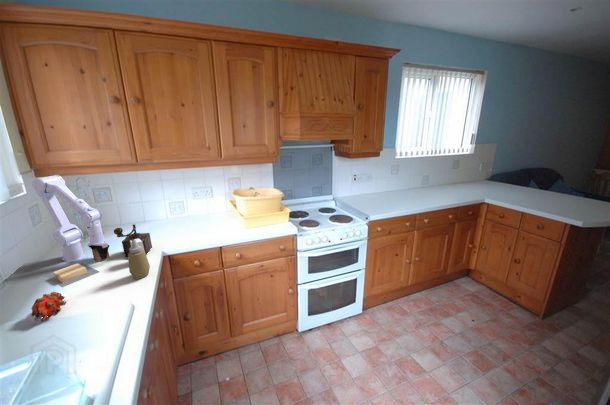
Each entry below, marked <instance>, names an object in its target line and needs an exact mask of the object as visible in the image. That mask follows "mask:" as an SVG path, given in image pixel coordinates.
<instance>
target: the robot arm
mask: <svg viewBox="0 0 610 405" xmlns="http://www.w3.org/2000/svg"><path fill="white" fill-rule="evenodd" d="M32 187H33V189H34V190H35V192H36V195H37V196H38V197H39V198H40V200H41V202H42V203H43V205H44V208H45V209H46V211H47V213H48V214H49V215H50V218H51V219H52V222H53V223H54V225H55V227H56V229H55V230H54V231H53V232H52V234H53V236H54V240H55V243H56V244H57V245H59V246H60V249H61V252H62V256H63V257H62V258H61V260H63V261H65V262H68V263H71V262H74V261H77V260H80V259H83V258H87V257H88V254H85V253H84V251H83V247H82V244H81V241H82V238H83V232H82V230H81V229H80V227H78V225H76V224H74V223H71V222H70V220H69V219H68V216H67V215H66V213H65V211H64V210H63V207H62V206H61V204H60V202H59V200H58V198H57V197H56V194H58V195H60V196H61V197H62V198H63V199H65V200H66V201H67V202H68V203H70V205H69V206H70V208H71V209H72V210H74V212H76V213H77V214H78V215H79V216H80V218H79V219H80V221H81V222H82V223H83V225H84V227H86V232H87V234H88V241H89V242H88V243H87V246H88V247H89V249H91V251H92V250H94V249H96V250H97V251H98V253H99V255H100V257H101V259H102V260H103V259H106V258H107V252H109V247H110V245H109V244H108V243H107V242H106V239H105V237H104V231H103V229H102V225H101V219H102V212H101V211H100V210H99V209H98V208H94V207H91V205H90V204H88V203H87V202H86V201H85V200H84V199H82V198H78V197H77V196H76V195H75V194H74V193H73V192H72V191H71V189H70V188H68V186H66V180H64V179H63V177H62V176H60V174H54V175H50V176H43V177H35V178H34V179H33V181H32ZM106 260H107V259H106ZM103 261H104V260H103Z"/></svg>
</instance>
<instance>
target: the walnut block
mask: <svg viewBox="0 0 610 405" xmlns="http://www.w3.org/2000/svg"><path fill="white" fill-rule="evenodd" d="M91 253H92V257H93V260H94V261H96V262H97V263H100V262H103V261H106V260H109V259H110V258H111V256H110V252H109V251H108V252H107V258H106V259H103V260H102V259H101V257H100V255H99V253H98V251H97V250H96V249H94V250H92V249H91Z"/></svg>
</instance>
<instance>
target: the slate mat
mask: <svg viewBox="0 0 610 405" xmlns="http://www.w3.org/2000/svg"><path fill="white" fill-rule="evenodd" d="M79 264H80V265H82V266H84V267H85V268H86V269H87V273H88V274H85V275H83V276H80V277H78V278H75V279H73V280H70V281H68V282H65V283H62V282H61V281H59V280H57V279H56V278H55V277H54V273H52V274H49V275H46V278H48V279H49V280H50V281H52V282H53V283H55V284H57V285H58V286H60V287H61V288H64V287H67V286H69V285H72V284H74V283H77V282H78V281H81V280H84V279H86V278H88V277H91V276H94V275H97V274H99V273H100V271H99V270H97V269H95V268H93V267H91V266H89V265H87V264H86V263H83V262H82V263H79Z"/></svg>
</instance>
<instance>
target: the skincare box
mask: <svg viewBox="0 0 610 405" xmlns="http://www.w3.org/2000/svg"><path fill="white" fill-rule="evenodd" d="M134 240H136V242H137V244H138V245H140V246H141V247H142V250H144V247H143V243H142V241H141V240H140V239H139V238H138V239H134ZM130 244H131V247H132V240H131V241H130Z"/></svg>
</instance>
